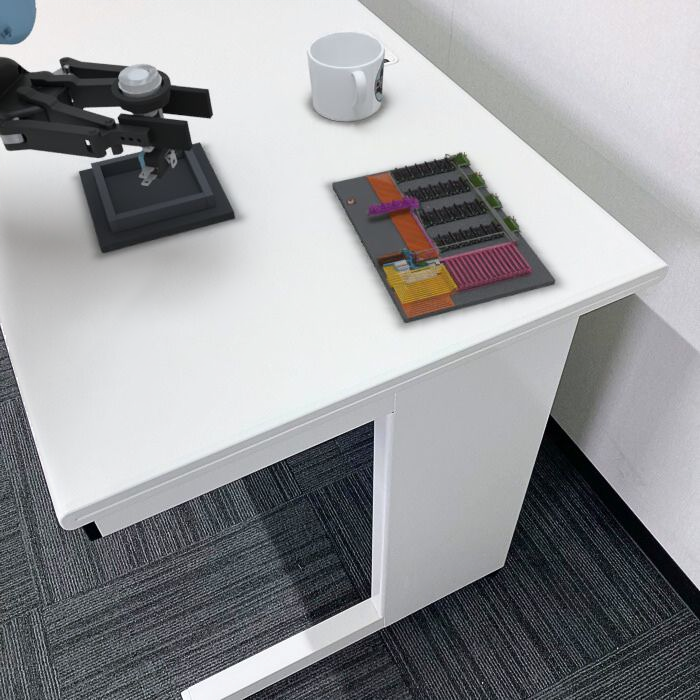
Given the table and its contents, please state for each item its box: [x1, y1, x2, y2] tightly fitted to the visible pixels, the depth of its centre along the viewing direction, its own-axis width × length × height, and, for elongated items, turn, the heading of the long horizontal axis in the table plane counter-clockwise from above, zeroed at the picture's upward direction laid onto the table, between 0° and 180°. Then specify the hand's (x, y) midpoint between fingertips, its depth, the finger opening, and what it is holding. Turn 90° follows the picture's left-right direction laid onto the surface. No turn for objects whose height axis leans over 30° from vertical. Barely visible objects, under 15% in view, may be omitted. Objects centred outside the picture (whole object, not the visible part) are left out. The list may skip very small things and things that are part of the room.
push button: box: [111, 63, 182, 186], centre depth 71 cm, size 7×5×10 cm
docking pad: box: [78, 142, 236, 254], centre depth 91 cm, size 16×16×3 cm
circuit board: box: [331, 151, 556, 324], centre depth 86 cm, size 25×18×3 cm
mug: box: [306, 30, 386, 122], centre depth 102 cm, size 13×10×8 cm
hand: (198, 119), depth 69 cm, fingers closed on push button, 5 cm apart
